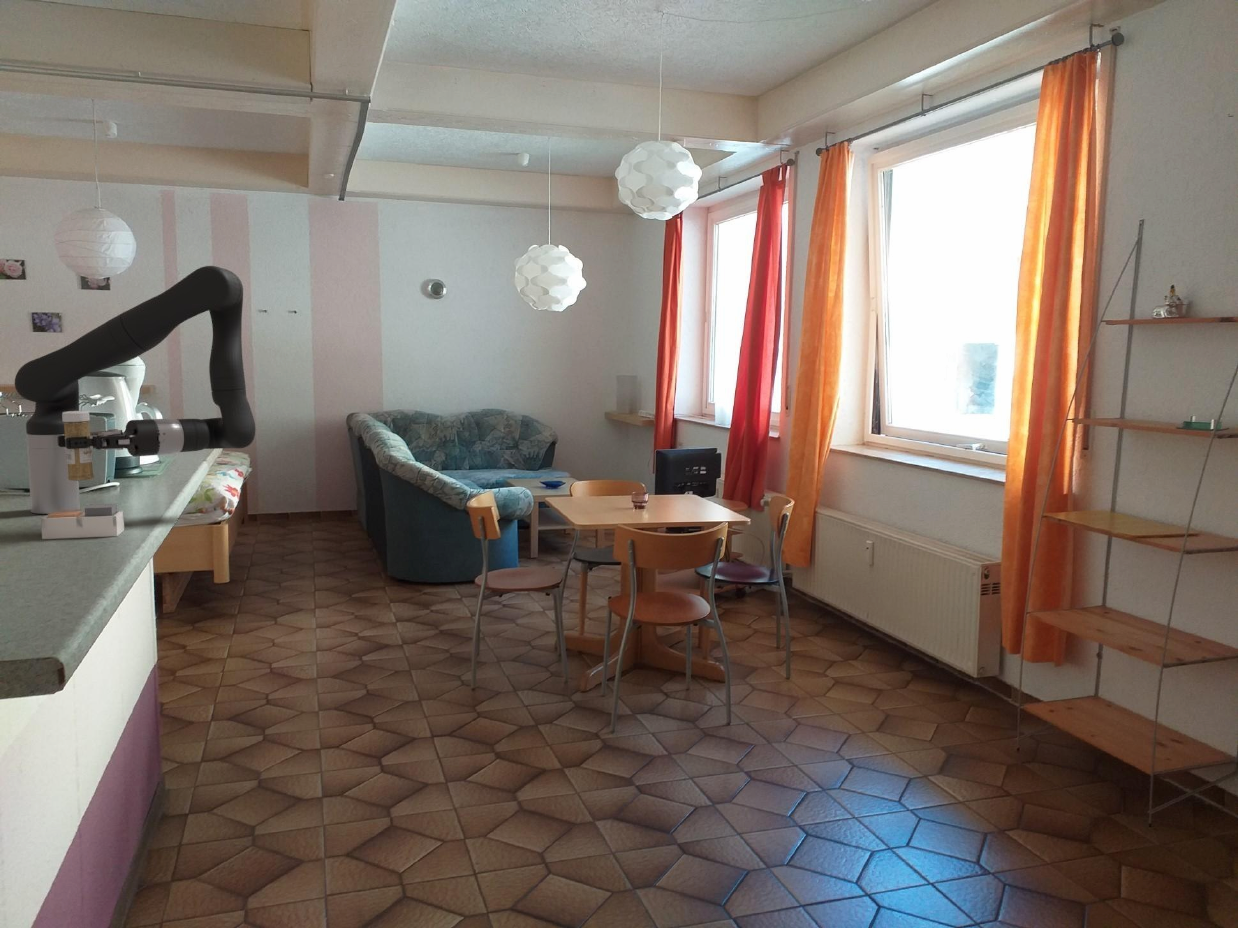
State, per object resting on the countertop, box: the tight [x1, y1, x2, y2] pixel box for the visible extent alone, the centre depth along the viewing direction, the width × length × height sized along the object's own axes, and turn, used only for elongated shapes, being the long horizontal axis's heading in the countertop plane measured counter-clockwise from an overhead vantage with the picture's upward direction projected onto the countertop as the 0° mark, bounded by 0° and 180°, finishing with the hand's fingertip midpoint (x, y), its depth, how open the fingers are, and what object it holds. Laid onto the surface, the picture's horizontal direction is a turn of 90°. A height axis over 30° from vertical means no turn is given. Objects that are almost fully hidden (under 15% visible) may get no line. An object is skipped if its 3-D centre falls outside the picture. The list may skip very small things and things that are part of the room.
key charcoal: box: [84, 503, 118, 517], centre depth 176 cm, size 5×5×2 cm
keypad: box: [40, 510, 125, 540], centre depth 175 cm, size 6×13×4 cm, turn 108°
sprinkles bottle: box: [62, 410, 95, 482], centre depth 178 cm, size 5×5×14 cm
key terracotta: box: [47, 509, 83, 518], centre depth 174 cm, size 5×5×2 cm
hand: (62, 442), depth 176 cm, fingers closed on sprinkles bottle, 4 cm apart
